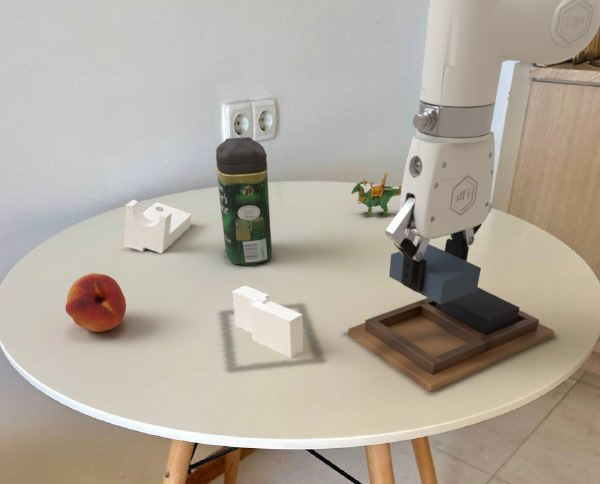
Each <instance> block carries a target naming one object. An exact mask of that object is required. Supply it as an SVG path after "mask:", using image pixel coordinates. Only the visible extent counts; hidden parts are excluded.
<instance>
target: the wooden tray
mask: <svg viewBox="0 0 600 484" xmlns="http://www.w3.org/2000/svg"><path fill="white" fill-rule="evenodd" d="M436 303H437V302H435V301H433V300H431V299H429V298H427V297H426V298H423V299H420V300H418V301H417V300H416V301H415V302H412V303H409V304H406V305H403V306H401V307H398V308H395V309H392V310H389V311H386V312H383V313H381V314H379V315H378V314H377V315H376V316H372V317H370V318H367V319H365V321H364V322H363V323H361V324H358V325H355V326H352V327H349V328H348V329H347V330H348V331H347V335H348V336H349V337H350V338H352V339H353V340H355V341H356V342H357V343H359V344H361V345H362V346H363V347H365V348H366V349H367V350H369V351H371V353H374V355H376V356H378V357H379V358H381V359H382V360H383V361H385V362H387V363H388V364H389V365H391V366H392V367H394V368H395V369H396V370H398V371H399V372H401V373H402V374H404V375H405V376H406V377H408V378H409V379H410V380H412V381H413V382H415V383H416V384H418V385H419V386H421V387H422V388H423V389H425V390H426V391H428V392H429V393H432V392H434V391H436V390H439V389H441V388H443V387H446V386H447V385H450V384H452V383H454V382H456V381H459V380H461V379H464V378H466V377H468V376H470V375H473V374H475V373H477V372H478V371H481V370H483V369H485V368H488V367H490V366H492V365H494V364H496V363H499V362H500V361H504V360H506V359H508V358H510V357H512V356H514V355H516V354H518V353H521V352H523V351H525V350H527V349H530V348H532V347H534V346H536V345H539V344H541V343H543V342H545V341H548V340H549V339H552V338H553V337H554V334H555V330H553V329H551V328H549V327H547V326H546V325H543V324H541V323H540V319H539V318H537V317H534V316H533V315H531V314H529V313H527V312H525V311H522V310H520V309H519V313H518V317H517V321H516V323H515V324H513V325H510V326H508V327H505V328H503V329H501V330H498V331H496V332H493V333H491V334H489V335H484V334H482V333H480V332H478V331H477V330H475V329H473V328H471V327H469V326H468V325H466V324H464V323H462V322H460V321H459V320H457V319H455V318H453V317H451V316H450V315H448V314H446V313H444V312H442V311H440V310H439V309H437V308H436Z"/></svg>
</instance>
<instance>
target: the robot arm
mask: <svg viewBox="0 0 600 484" xmlns="http://www.w3.org/2000/svg"><path fill="white" fill-rule="evenodd" d="M426 23H427V24H426V32H425V33H426V34H425V45H424V52H423V64H422V73H421V83H420V94H419V101H418V102H419V103H418V112H417V113H416V114H415V115H414V116H413V118H412V124H413V128H415V129H416V133H415V135H413V136H412V138H411V143H410V146H409V150H408V154H407V157H406V162H405V167H404V172H403V177H402V184H401V187H402V189H401V195H400V197H399V207H398V212H397V214H396V215H395V216H394V218H393V219H392V220H391V222H390V224H389V225H388V226H387V228H385V236H386V237H387V238H388V239H389V240H390V242H392V243H393V244H394V246H395V247H396V248H397V250H398V251H399V252H400V253H401V254H403V255H404V259H403V269H402V278H401V283H400V284H402V286H404V287H406V288H407V289H410V290H412V291H413V292H415V293H418V292H421V291H422V290H423V284H424V277H425V271H426V260H424V259H422V258H423V256H424V254H425V251H426V249H427V246H428V244H430V241H431V240H435V239H439V238H442V237H447V236H449V235H450V238H447V239H446V242H445V246H444V251H445V252H447V253H449V254H452V255H454V256H456V257H458V258H460V259H463V260H465V261H467V262H468V255H469V250H470V246H472V245H473V244H474V242H475V235H476V234H477V232H478V231H479V230H480V228H481V227H482V225H483V223H484V222H485V221H486V219H487V217H488V215H489V214H490V212H491V211H492V209H493V205H492V203H491V197H492V190H493V181H494V173H495V158H496V157H495V156H496V154H495V153H496V151H495V150H496V149H495V148H496V147H495V145H496V144H495V133H494V132H493V131H491V130H492V124H493V120H494V119H493V118H494V113H495V107H496V101H497V96H498V90H499V84H500V77H501V72H502V66H503V63H504V62H507V61H512V62H522V63H523V62H524V63H529V64H530V63H531V64H536V65H537V64H538V65H553V64H559V63H563V62H565V61H567V60H570V59H571V58H572V59H573V57H575V56H577V55H578V54H580V53H581V52H582V51H584V49H586V48H587V47H588V45H589V44H590V43H591V42H592V41H593V39H594V38H595V36H596V35H597V33H598V32H599V29H600V0H429V3H428V13H427V22H426ZM416 237H418V241H417V243H416V244H415V243H414V242H415V239H416ZM418 294H419V293H418Z"/></svg>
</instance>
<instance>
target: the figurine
mask: <svg viewBox="0 0 600 484" xmlns="http://www.w3.org/2000/svg"><path fill="white" fill-rule="evenodd" d="M387 175H388V173H387V172H385V173H384V175H383V176H384V177H383V179H381V184H379V185H375V184H374V181H372V182H369V185H370V189H368V190H367V191H366V192H365V189H364V187H363V186H365V187H366V186H367V184H368V180H366V179H363V180H362V181H360V182H358V181H357V182H356V185H355V186H354V187H353V189H352V190H351V195H354V194H355V193H358V194H357V195H358V197H357V199H356V201H357V204H358V205H359V204H363V205H365V206H366V207H367V208H368V209H367V211H366V212H364V217H365V218H367V217H370V214H372V212H373V211H372V210H373V207H375V208H376V207H380V209H382V210H383V211H380V212H379V217H380V218H384V217H387V213H388V211H389V208H388V203H389V202H390V200H391V199H392V198H393V197H396V196H398V197H399V196H401V189H402V185H399V186H398V188H396V187H394V185H391V186H389V185H386V183H387V182H386V181H387ZM362 185H363V186H362ZM374 185H375V186H374Z"/></svg>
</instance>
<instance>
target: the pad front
mask: <svg viewBox="0 0 600 484" xmlns="http://www.w3.org/2000/svg"><path fill="white" fill-rule="evenodd" d="M403 259H404V255H403V254H401V253H400V251H397V252H394V253H391V254H390V263H389V278H391V279H393V280H394V281H397V282H398V283H400V284H402V283H401V278H402V269H403ZM422 259H424V260H426V271H425V277H424V284H423V290H422V291H421V292H418V294H420V295H421V296H424V297H426V298H429V299H431V300H433V301H435V302H437V303H438V304H443V303H445V302H448V301H451V300H454V299H456V298H459V297H462V296H465V295H467V294H470V293H473V292H476V291H477V287H478V286H479V282H480V276H481V270H482V267H481V266H478V265H476V264H473V263H471V262H469V261H468V260H467V261H465V260H463V259H460V258H458V257H456V256H454V255H452V254H449V253H447V252H445V250H443V249H441V248H438V247H437V246H434V245H432V244H430V243H429V244H428V246H427V249H426V251H425V254H424V256H423V258H422Z"/></svg>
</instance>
